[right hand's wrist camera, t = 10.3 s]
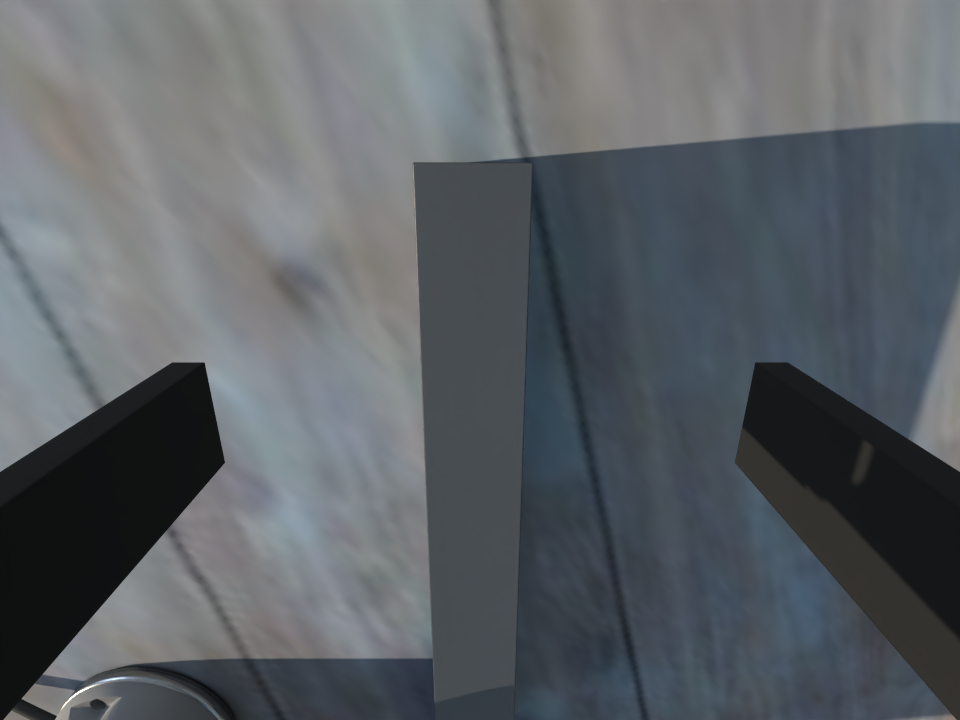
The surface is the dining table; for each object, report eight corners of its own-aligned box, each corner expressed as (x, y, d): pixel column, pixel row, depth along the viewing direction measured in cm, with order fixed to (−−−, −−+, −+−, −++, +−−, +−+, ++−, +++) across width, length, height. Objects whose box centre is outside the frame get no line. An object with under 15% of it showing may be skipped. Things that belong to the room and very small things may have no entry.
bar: (428, 165, 31) (412, 162, 23) (518, 166, 31) (533, 162, 23) (451, 901, 57) (447, 1021, 49) (499, 901, 57) (503, 1021, 49)
